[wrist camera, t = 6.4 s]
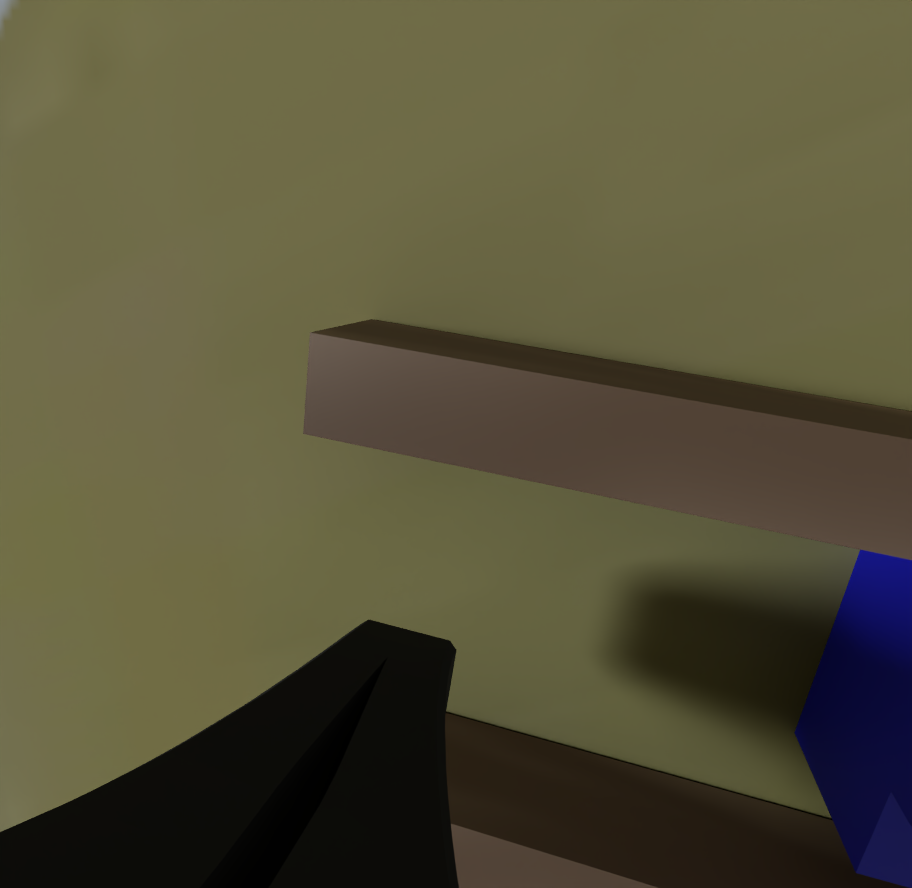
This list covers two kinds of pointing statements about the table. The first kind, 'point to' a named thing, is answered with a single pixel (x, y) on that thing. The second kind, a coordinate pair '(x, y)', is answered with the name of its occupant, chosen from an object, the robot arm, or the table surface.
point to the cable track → (640, 481)
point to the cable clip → (867, 719)
